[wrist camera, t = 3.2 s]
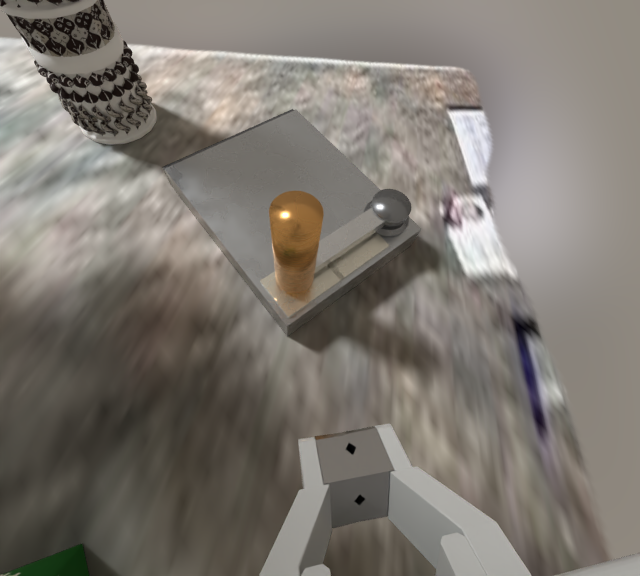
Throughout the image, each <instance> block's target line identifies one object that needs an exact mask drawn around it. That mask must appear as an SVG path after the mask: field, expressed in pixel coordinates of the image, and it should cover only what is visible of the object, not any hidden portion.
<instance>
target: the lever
mask: <svg viewBox="0 0 640 576" xmlns="http://www.w3.org/2000/svg"><path fill="white" fill-rule="evenodd" d="M410 212H411V203H410V201H409V199H408V198H407V197H406V196H405V195H404V194H403V193H401V192H399V191H397V190H393V189H384V190H381V191H379V192H377V193H376V194H375V195H374V197H373V200H372V202H371V205H370V208H369V210H367V211H366V212H364V213H362V214H361V215H359V216H358V217H356V218H355V219H353V220H352V221H350V222H348V223H347V224H345V225H344V226H342V227H341V228H339V229H337V230H336V231H334V232H333V233H331V234H330V235H328V236H327V237H325V238H323V239H322V240H320V235H321V228H322V222H323V215H324V212H323V207H322V205H321V203H320V202H319V201H318V199H316V198H315V197H314V196H313V195H311V194H309V193H306V192H303V191H288V192H284V193H282V194H280V195H278V196H277V197H276V198H275V199H274V200H273V201H272V203H271V205H270V208H269V218H270V228H271V238H272V248H273V258H274V268H275V278H276V282H277V284H278V285H279V287H280V288H281V289H283V290H284V291H286V292H289V293H300V292H303V291H305V290H307V289H308V288H309V287H310V286H311V284H312V282H313V279H314V274H315V273H316V272H318V271H319V270H320V269H322V268H323V267H325V266H326V265H328V264H329V263H331V262H332V261H334V260H335V259H337V258H338V257H340V256H341V255H343V254H344V253H346V252H347V251H348V250H350V249H351V248H353V247H354V246H356V245H357V244H359V243H360V242H362V241H363V240H365V239H366V238H368V237H369V236H371V235H372V234H374V233H375V232H376V231H378V230H379V229H381V228H382V229H386V230H395V229H398V228H400V227H401V226H402V225H403V224H404V223H405V221H406V219H407V217H408V216H409V214H410Z"/></svg>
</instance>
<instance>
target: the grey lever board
mask: <svg viewBox="0 0 640 576" xmlns="http://www.w3.org/2000/svg"><path fill="white" fill-rule="evenodd" d="M162 168H163V170H164V172H165V174H166V176H167V178H168V180H169V182H170V184H171V185H172V187H173V188H174V190H175V191H176V193H177V194H178V195H179V197H180V198H181V199H182V200H183V202H184V203H185V204H186V206H187V207H188V208H189V210H190V211H191V212H192V213H193V215H194V216H195V217H196V219H197V220H198V221H199V222H200V224H201V225H202V226H203V228H204V229H205V230H206V232H207V233H208V234H209V235H210V237H211V238H212V239H213V241H214V242H215V243H216V244H217V246H218V247H219V248H220V250H221V251H222V252H223V254H224V255H225V256H226V257H227V259H228V260H229V261H230V263H231V264H232V265H233V266H234V268H235V269H236V270H237V272H238V273H239V274H240V276H241V277H242V278H243V279H244V281H245V282H246V283H247V285H248V286H249V287H250V289H251V290H252V291H253V292H254V294H255V295H256V296H257V298H258V299H259V300H260V301H261V303H262V304H263V305H264V307H265V308H266V309H267V311H268V312H269V313H270V314H271V316H272V317H273V318H274V320H275V321H276V322H277V323H278V325H279V326H280V327H281V329H282V330H283V331H284V333H285V334H286V335H287V336H289V335H290V334H291V333H293V332H294V331H295V330H297V329H298V328H300V327H301V326H302V325H304V324H305V323H306V322H308V321H309V320H310V319H312V318H313V317H314V316H316V315H317V314H319V313H320V312H321V311H323V310H324V309H325V308H327V307H328V306H329V305H331V304H332V303H333V302H335V301H336V300H338V299H339V298H340V297H342V296H343V295H344V294H346V293H347V292H348V291H350V290H351V289H353V288H354V287H355V286H357V285H358V284H359V283H361V282H362V281H363V280H365V279H366V278H367V277H369V276H370V275H372V274H373V273H374V272H376V271H377V270H378V269H380V268H381V267H382V266H384V265H385V264H386V263H388V262H389V261H391V260H392V259H393V258H395V257H396V256H397V255H399V254H400V253H401V252H403V251H404V250H405V249H407V248H408V247H410V246H411V244H412V243H413V241H414V240H415V238H416V237H417V235H418V234H419V232H420V231H421V228H420V227H419V226H418V225H417V224H416V223H415V222H414V221H413V220H412V219H410V218H409V216H408V217H407V219H406V221H405V223H404V224H403V225H402V226H401V227H400V228H398V229H395V230H386V229H382V228H381V229H379V230H378V231H376V232H375V233H374V234H372V235H371V236H369V237H368V238H366V239H365V240H363V241H362V242H360V243H359V244H357V245H356V246H354V247H353V248H351V249H350V250H348V251H347V252H346V253H344V254H343V255H341V256H340V257H338V258H337V259H335V260H334V261H332V262H331V263H329V264H328V265H326V266H325V267H323V268H322V269H320V270H319V271H318V272H316V273H315V274H314V279H313V282H312V284H311V286H310V287H309V288H308V289H307V290H305V291H303V292H300V293H289V292H286V291H284V290H283V289H281V288H280V287H279V285H278V284H277V282H276V278H275V268H274V258H273V248H272V238H271V228H270V218H269V208H270V205H271V203H272V201H273V200H274V199H275V198H276V197H277V196H278V195H280V194H282V193H284V192H288V191H303V192H306V193H309V194H311V195H313V196H314V197H315V198H316V199H318V201H319V202H320V203H321V205H322V207H323V212H324V215H323V222H322V228H321V235H320V240H322V239H323V238H325V237H327V236H328V235H330V234H331V233H333V232H334V231H336V230H337V229H339V228H341V227H342V226H344V225H345V224H347V223H348V222H350V221H352V220H353V219H355V218H356V217H358V216H359V215H361V214H362V213H364V212H366V211H367V210H369V208H370V205H371V202H372V200H373V197H374V195H375V194H376V193H377V192H379V191H381V190H380V189H379V188H378V187H377V186H376V185H375V184H374V183H373V182H372V181H370V180H369V179H368V178H367V177H366V176H365V175H364V174H363V173H362V172H361V171H360V170H359V169H358V168H357V167H356V166H355V165H354V164H353V163H352V162H350V161H349V160H348V159H347V158H346V157H345V156H344V155H343V154H342V153H341V152H340V151H339V150H338V149H337V148H336V147H335V146H334V145H333V144H332V143H330V142H329V141H328V140H327V139H326V138H325V137H324V136H323V135H322V134H321V133H320V132H319V131H318V130H317V129H316V128H315V127H314V126H313V125H312V124H310V123H309V122H308V121H307V120H306V119H305V118H304V117H303V116H302V115H301V114H300V113H299V112H298V111H297V110H293V109H292V110H290V111H287V112H285V113H283V114H281V115H278V116H276V117H274V118H272V119H269V120H267V121H265V122H263V123H260V124H258V125H256V126H254V127H251V128H249V129H247V130H245V131H243V132H240V133H238V134H236V135H234V136H231V137H229V138H227V139H225V140H222V141H220V142H218V143H216V144H213V145H211V146H209V147H207V148H204V149H202V150H200V151H198V152H195V153H193V154H191V155H189V156H186V157H184V158H182V159H180V160H177V161H175V162H173V163H171V164H169V165H166V166H164V167H162Z"/></svg>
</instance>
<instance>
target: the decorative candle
mask: <svg viewBox="0 0 640 576" xmlns="http://www.w3.org/2000/svg"><path fill="white" fill-rule="evenodd" d="M0 10H1V11H3V12H4V13H6V14H7V15H8V17H9V19H10V20H11V22H12V23H13V24H14V26H15V28H16V29H17V30H18V31H19V33H20V34H21V36H22V40H23V42H24V43H25V45H26V47H27V49H28V50H29V52H30V53H31V54H32V56H33V57H34V59H35V60H34V63H35V65H36V66H37V67H38V72H39V73H40V74H41V75H42V76H44V77H47V78H46V79H47V82H48V83H49V84H50V88H51V90H52V91H53V92H55V93H58V96H59V99H60V101H61V104H62V106H63V108H64V109H65V110H66V111H67V112H69V114H70V115H71V118H72V120H73V121H74V123H75V124H77V125H79V127H80V129H81V130H82V132H83V134H84V135H85V136H86V137H88V138H90V139H91V140H93V141H95V142H98V143H103V144H108V145H115V144H126V143H129V142H132V141H135V140H137V139H140V138H142V137H143V136H144V135H146V134H147V133H148V132H150V131H151V130H152V128H153V126H154V125H155V123H156V121H157V118H156V110H155V108H154V107H153V105H152V104H151V101H152V98H151V97H149V96H147V90H145V89H146V87H147V86H146V84H145V83H143V82H141V80H142V78H141V76H139V75H138V74H137V73H138V71H139V68H138V66H137V65H136V64H134V60H133V59H132V58H131V56H132V51H131V49H130V48H128V47H127V44H126V42H125V41H124V40H122V37H121V35H120V33H119V30H118V28H117V26H116V25H115V23H114V22H113V21H112V19H111V17H110V15H109V12H108V10H107V7H106V5H105V3H104V1H103V0H0Z"/></svg>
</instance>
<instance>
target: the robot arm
mask: <svg viewBox="0 0 640 576" xmlns="http://www.w3.org/2000/svg"><path fill="white" fill-rule="evenodd" d="M298 443H299V454H300V465H301V475H302V485H303V489H301V490H299V492H298V494H297V496H296V498H295V500H294V502H293V505H292V507H291V509H290V511H289V513H288V515H287V517H286V519H285V522H284V524H283V526H282V528H281V530H280V532H279V534H278V537H277V539H276V541H275V543H274V545H273V547H272V549H271V551H270V554H269V556H268V558H267V560H266V562H265V564H264V566H263V569H262V571H261V573H260V575H259V576H331V574H330V569H329V568H328V567H326V566H325V565H323V561H324V557H325V554H326V550H327V547H328V543H329V540H330V536H331V533H332V528H336V527H340V526H344V525H348V524H352V523H356V522H360V521H366V520H371V519H376V518H382V517H387V516H388V519H389V520H390V521H391V522H392V523H393V524H394V525H395V526H396V527H397V528H398V529H399V530H400V531H401V532H402V533H403V534H404V535H405V537H406V538H407V539H408V540H409V541H410V542H411V543H412V544H413V545H414V546H415V547H416V548H417V549H418V550H419V551H420V552H421V554H422V555H423V556H424V557H425V558H426V559H427V560H428V561H429V562H430V563H431V564H432V565H433V566H434V567H435V568H436V576H532V575H531V574H530V572H529V571H528V569H527V568H526V566H525V565H524V563H523V562H522V560H521V559H520V557H519V556H518V554H517V553H516V551H515V550H514V548H513V547H512V545H511V544H510V542H509V541H508V539H507V538H506V536H505V535H504V533H503V532H502V530H501V529H500V527H499V526H498V524H497V523H496V522H495V521H494V520H492V519H491V518H490V517H488V516H487V515H485V514H484V513H483V512H481V511H480V510H478V509H477V508H476V507H474V506H473V505H471V504H470V503H468V502H467V501H466V500H464V499H463V498H461V497H460V496H459V495H457V494H456V493H454V492H453V491H452V490H450V489H449V488H447V487H446V486H444V485H443V484H442V483H440V482H439V481H437V480H436V479H435V478H433V477H432V476H430V475H429V474H428V473H426V472H425V471H423V470H422V469H420V468H419V467H413V466H412V464H411V462H410V460H409V458H408V456H407V454H406V453H405V451H404V449H403V447H402V445H401V443H400V441H399V439H398V437H397V435H396V433H395V431H394V429H393V427H392V426H391V425H390V424H384V425H379V426H374V427H373V426H372V427H367V428H362V429H356V430H351V431H346V432H342V433H335V434H328V435H321V436H315V437H310V438H303V439H298ZM554 576H640V553H637V554H633V555H629V556H626V557H621V558H618V559H614V560H610V561H607V562H603V563H599V564H595V565H592V566H588V567H584V568H580V569H577V570H573V571H569V572H565V573H562V574H558V575H554Z"/></svg>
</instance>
